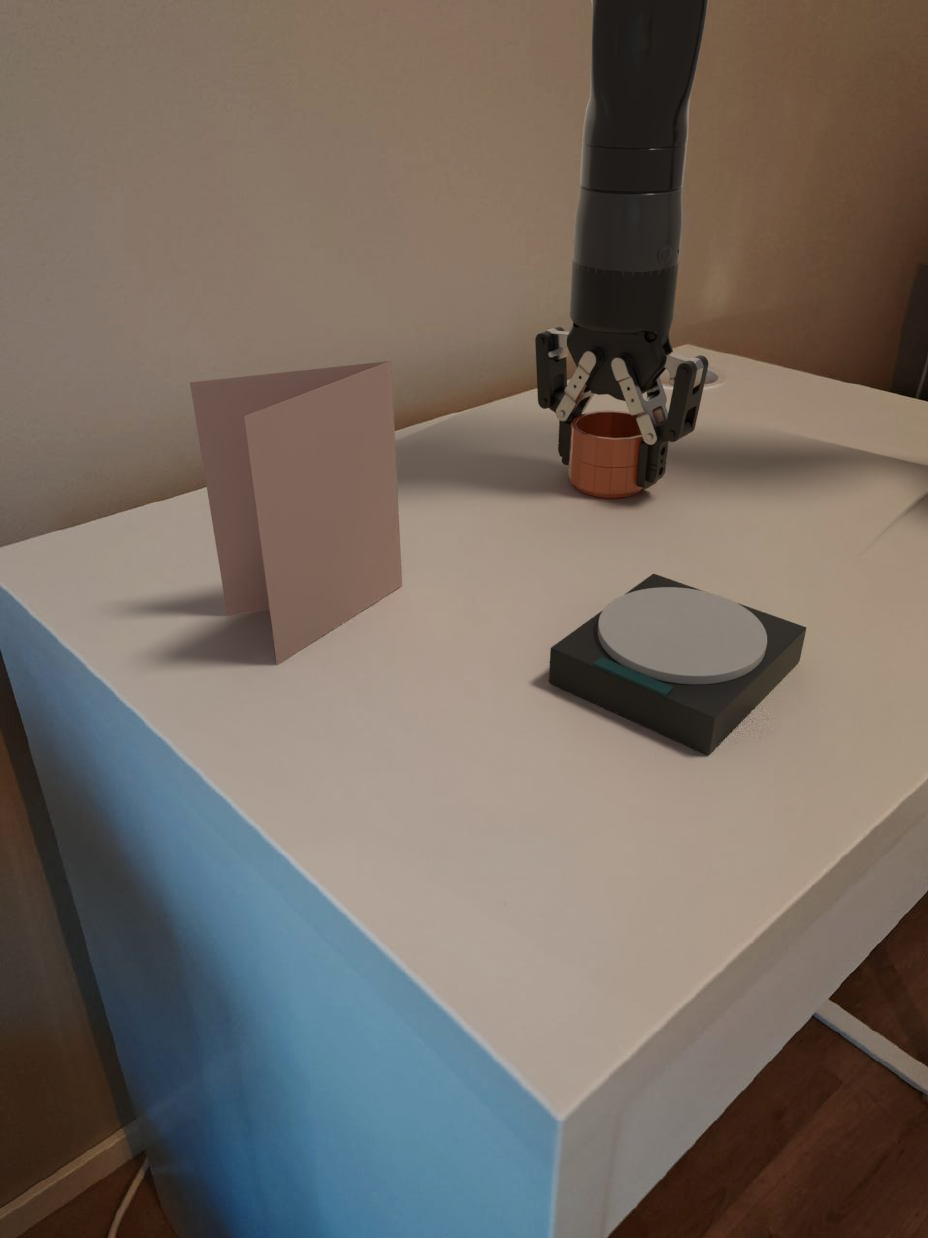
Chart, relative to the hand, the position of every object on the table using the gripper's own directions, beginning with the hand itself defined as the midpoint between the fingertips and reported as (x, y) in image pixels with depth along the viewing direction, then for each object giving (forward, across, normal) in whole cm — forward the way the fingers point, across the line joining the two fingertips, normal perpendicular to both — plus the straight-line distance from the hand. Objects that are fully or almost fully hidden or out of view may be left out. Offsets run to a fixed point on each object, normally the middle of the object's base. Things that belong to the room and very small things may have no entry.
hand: (608, 472), depth 77 cm
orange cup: (+1, 0, 0) cm, 1 cm away
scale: (+1, -18, +20) cm, 27 cm away
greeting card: (+1, +2, +29) cm, 29 cm away
